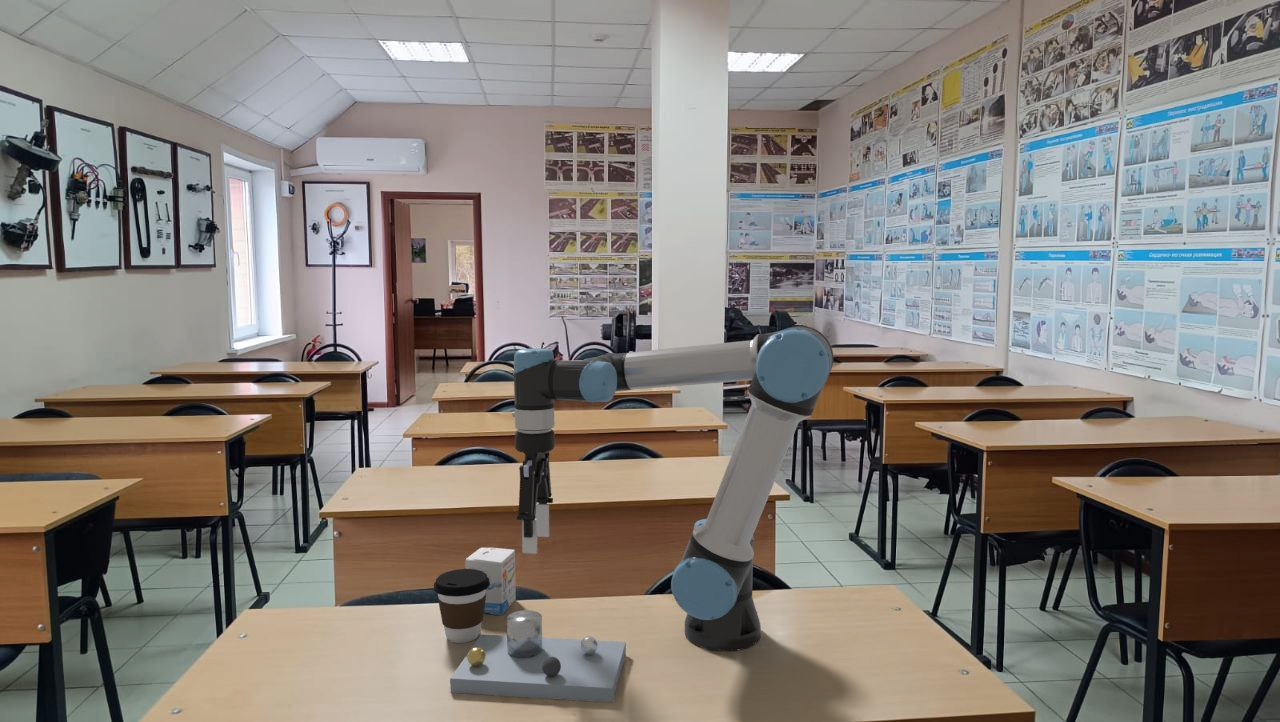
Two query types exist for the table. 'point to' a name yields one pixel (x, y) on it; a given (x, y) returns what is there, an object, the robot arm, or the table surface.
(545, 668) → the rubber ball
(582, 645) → the steel ball
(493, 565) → the ink box
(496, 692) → the plate
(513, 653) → the shiny silver cylinder
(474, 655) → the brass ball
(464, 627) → the coffee cup
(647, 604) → the table surface
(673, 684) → the table surface
